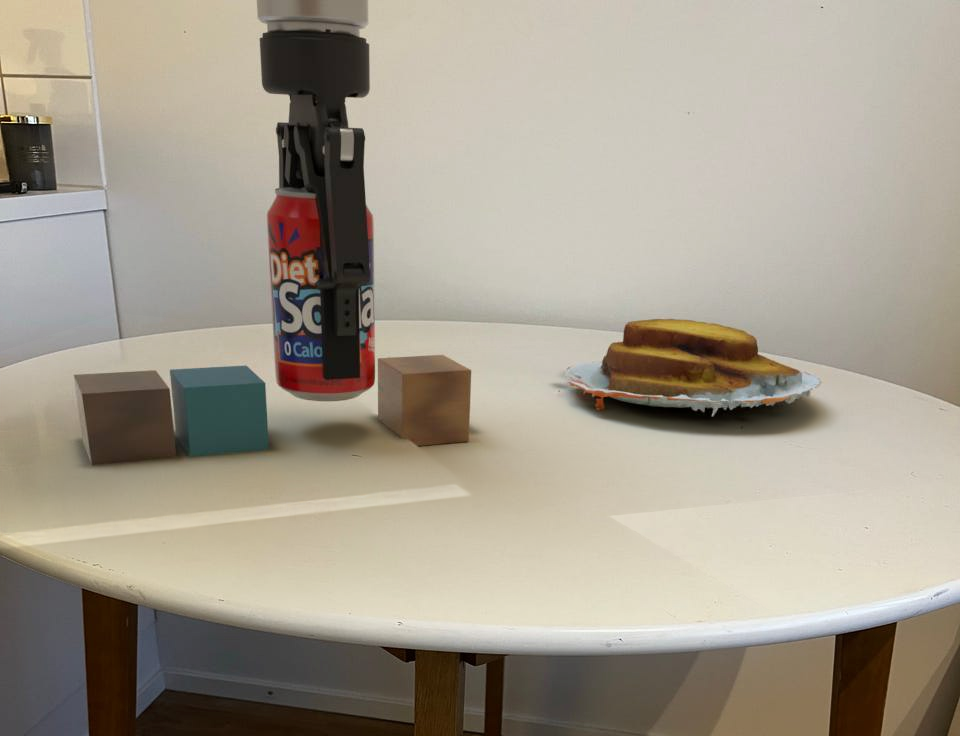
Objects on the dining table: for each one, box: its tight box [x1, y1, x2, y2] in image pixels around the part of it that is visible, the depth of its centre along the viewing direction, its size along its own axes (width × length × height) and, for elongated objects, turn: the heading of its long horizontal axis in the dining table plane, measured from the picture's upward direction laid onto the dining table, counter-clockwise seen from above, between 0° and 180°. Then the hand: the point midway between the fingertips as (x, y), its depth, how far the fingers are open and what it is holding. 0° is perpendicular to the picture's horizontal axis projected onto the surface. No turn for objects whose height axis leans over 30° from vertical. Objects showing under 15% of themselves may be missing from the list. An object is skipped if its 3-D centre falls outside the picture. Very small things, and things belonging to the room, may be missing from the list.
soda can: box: [266, 187, 376, 402], centre depth 78 cm, size 8×8×15 cm
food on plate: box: [557, 318, 822, 429], centre depth 100 cm, size 25×25×7 cm
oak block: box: [377, 354, 472, 447], centre depth 85 cm, size 6×6×6 cm
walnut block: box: [73, 369, 177, 466], centre depth 76 cm, size 6×6×6 cm
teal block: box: [169, 364, 270, 457], centre depth 79 cm, size 6×6×6 cm
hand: (324, 365), depth 80 cm, fingers closed on soda can, 8 cm apart
